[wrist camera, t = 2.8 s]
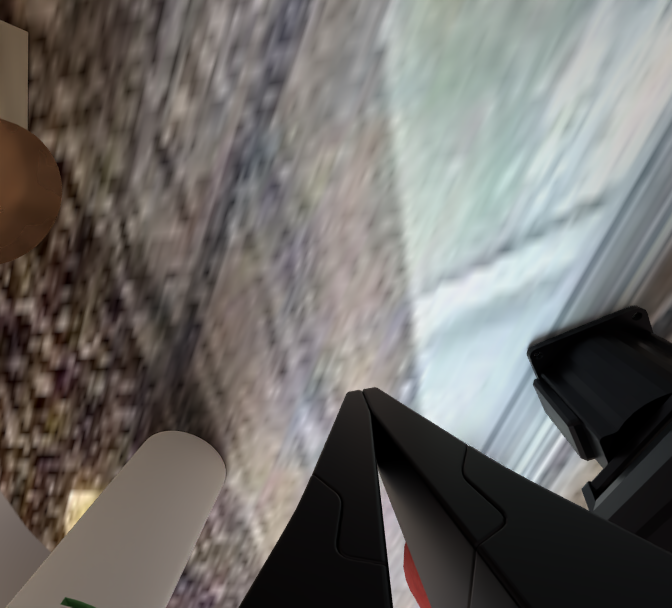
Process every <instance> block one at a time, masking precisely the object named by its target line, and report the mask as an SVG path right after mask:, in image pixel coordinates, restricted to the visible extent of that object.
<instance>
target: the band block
mask: <svg viewBox="0 0 672 608" xmlns="http://www.w3.org/2000/svg"><path fill="white" fill-rule="evenodd" d="M0 118H1V119H4V120H6V121H9V122H12V123H14V124H17V125H19V126H21V127H23V128H25V129H27V130H28V32H27V31H25V30H22V29H20V28H18V27H15V26H13V25H11V24H8V23H6V22H4V21H2V20H0Z"/></svg>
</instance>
